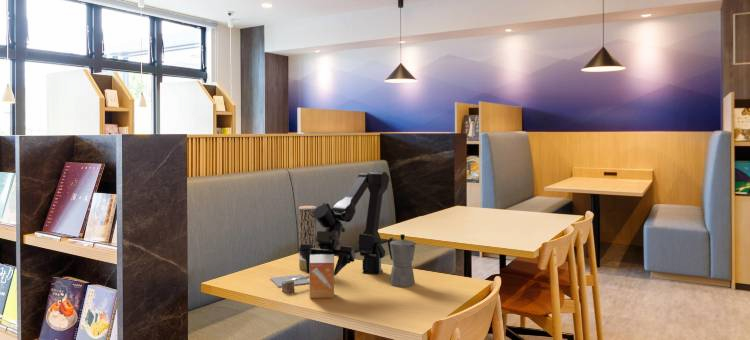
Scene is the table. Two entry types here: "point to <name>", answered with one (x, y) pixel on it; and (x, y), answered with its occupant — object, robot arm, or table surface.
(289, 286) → the rod stand
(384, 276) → the table surface
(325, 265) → the small box
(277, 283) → the mat
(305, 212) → the paper tube
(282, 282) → the steel rod
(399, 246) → the coffeepot
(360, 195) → the robot arm
